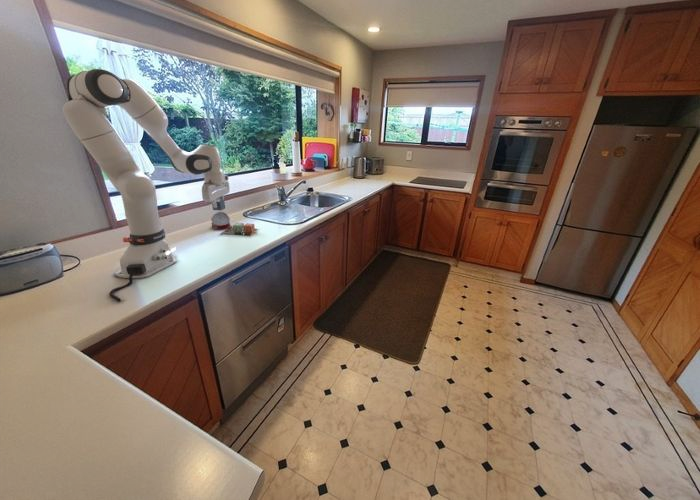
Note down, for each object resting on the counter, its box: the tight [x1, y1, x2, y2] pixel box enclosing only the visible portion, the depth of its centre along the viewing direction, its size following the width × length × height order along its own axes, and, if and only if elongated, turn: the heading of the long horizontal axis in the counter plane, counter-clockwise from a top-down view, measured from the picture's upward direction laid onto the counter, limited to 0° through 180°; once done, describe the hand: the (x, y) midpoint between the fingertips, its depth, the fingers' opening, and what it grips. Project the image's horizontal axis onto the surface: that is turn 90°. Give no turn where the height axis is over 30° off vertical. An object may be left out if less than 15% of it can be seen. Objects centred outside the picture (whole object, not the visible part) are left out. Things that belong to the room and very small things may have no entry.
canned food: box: [210, 211, 231, 231], centre depth 164 cm, size 11×10×10 cm
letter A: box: [232, 222, 245, 233], centre depth 158 cm, size 4×4×4 cm
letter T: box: [211, 199, 226, 211], centre depth 145 cm, size 4×4×4 cm
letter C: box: [244, 223, 256, 235], centre depth 157 cm, size 4×4×4 cm
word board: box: [219, 226, 258, 237], centre depth 159 cm, size 12×17×1 cm
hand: (218, 205), depth 145 cm, fingers closed on letter T, 4 cm apart
